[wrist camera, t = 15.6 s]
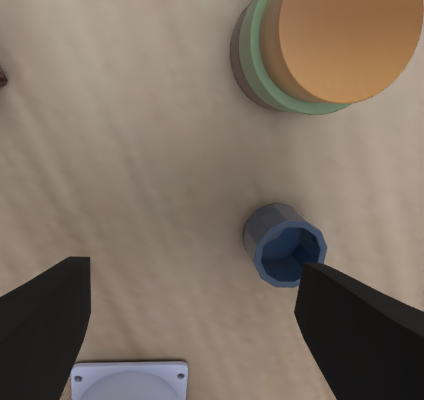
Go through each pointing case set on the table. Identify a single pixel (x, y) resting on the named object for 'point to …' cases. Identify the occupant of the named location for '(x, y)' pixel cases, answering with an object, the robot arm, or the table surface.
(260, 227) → the small cup
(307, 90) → the orange short cylinder
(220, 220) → the table surface
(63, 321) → the robot arm
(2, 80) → the letter holder
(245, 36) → the sage chip
